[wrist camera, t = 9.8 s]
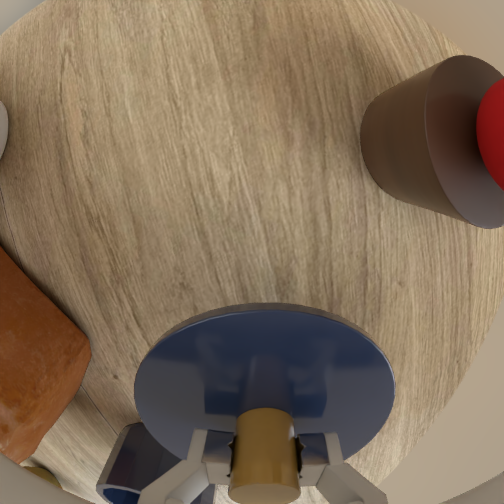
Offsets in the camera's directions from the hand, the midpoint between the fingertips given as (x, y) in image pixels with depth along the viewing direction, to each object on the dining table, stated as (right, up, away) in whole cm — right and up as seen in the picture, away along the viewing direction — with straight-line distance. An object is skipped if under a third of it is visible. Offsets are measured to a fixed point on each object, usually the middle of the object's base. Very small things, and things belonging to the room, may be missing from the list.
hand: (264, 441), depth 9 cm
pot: (-9, -13, +13) cm, 21 cm away
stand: (+9, +14, +5) cm, 17 cm away
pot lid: (0, 0, +1) cm, 2 cm away
